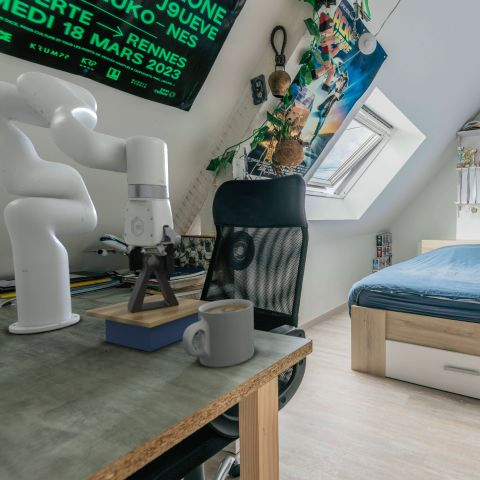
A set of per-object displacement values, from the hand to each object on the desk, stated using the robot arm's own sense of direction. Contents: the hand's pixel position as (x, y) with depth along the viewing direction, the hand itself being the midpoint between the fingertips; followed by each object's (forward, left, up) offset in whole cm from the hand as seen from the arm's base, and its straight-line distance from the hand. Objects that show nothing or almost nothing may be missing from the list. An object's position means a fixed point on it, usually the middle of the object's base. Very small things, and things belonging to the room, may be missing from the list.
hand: (151, 271), depth 72 cm
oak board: (0, 0, -9) cm, 9 cm away
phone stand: (0, 0, -8) cm, 8 cm away
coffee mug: (+22, -3, -15) cm, 27 cm away
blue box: (0, 0, -15) cm, 15 cm away
